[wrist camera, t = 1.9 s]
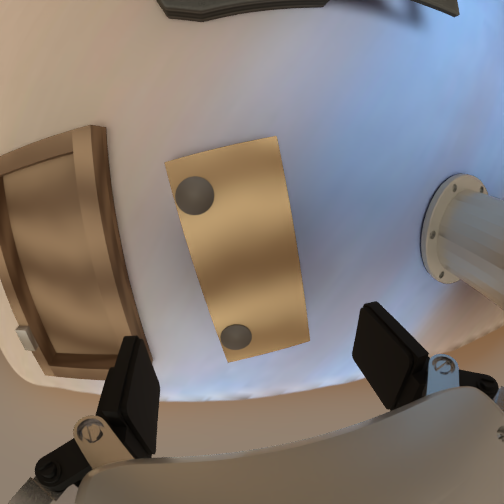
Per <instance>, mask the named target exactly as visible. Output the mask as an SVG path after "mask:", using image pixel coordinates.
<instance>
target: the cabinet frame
mask: <svg viewBox="0 0 504 504" xmlns="http://www.w3.org/2000/svg"><path fill="white" fill-rule="evenodd" d="M0 279H1V282H2V285H3V288H4V290H5V293H6V296H7V298H8V301H9V303H10V306H11V308H12V311H13V313H14V315H15V318H16V320H17V322H18V324H19V326H18V327H17V329H16V333H17V335H18V337H19V339H20V341H21V343H22V345H23V347H24V348H25V350H28V351H32V353H33V355H34V356H35V358H36V360H37V362H38V364H39V365H40V367H41V369H42V371H43V372H44V374H45V375H48V376H56V377H66V378H77V379H91V380H106V377H107V374H108V371H109V368H111V367H114V366H115V363H116V359H117V356H118V353H119V350H120V347H121V344H122V341H123V338H124V336H135V335H137V336H138V337H139V339H143V340H144V343H145V346H146V349H147V351H148V354H149V357H150V360H151V363H152V362H153V359H152V356H151V353H150V350H149V347H148V344H147V341H146V338H145V335H144V332H143V328H142V325H141V322H140V318H139V315H138V312H137V308H136V304H135V301H134V297H133V293H132V290H131V286H130V282H129V278H128V273H127V269H126V265H125V260H124V256H123V251H122V246H121V241H120V236H119V231H118V226H117V220H116V214H115V208H114V201H113V194H112V187H111V179H110V170H109V161H108V150H107V136H106V127H100V126H94V125H88V126H85V127H81V128H77V129H74V130H71V131H67V132H64V133H61V134H58V135H54V136H51V137H48V138H46V139H43V140H40V141H37V142H34V143H32V144H29V145H26V146H24V147H21V148H19V149H16V150H14V151H11V152H9V153H7V154H4V155H2V156H0Z"/></svg>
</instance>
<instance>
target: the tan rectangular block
mask: <svg viewBox="0 0 504 504" xmlns="http://www.w3.org/2000/svg"><path fill="white" fill-rule="evenodd" d="M165 167H166V170H167V174H168V178H169V182H170V186H171V189H172V193H173V197H174V200H175V204H176V208H177V211H178V215H179V218H180V221H181V225H182V228H183V232H184V235H185V238H186V242H187V245H188V248H189V251H190V255H191V258H192V261H193V264H194V267H195V270H196V273H197V277H198V280H199V283H200V286H201V289H202V292H203V295H204V298H205V300H206V303H207V306H208V309H209V312H210V315H211V318H212V321H213V323H214V326H215V329H216V332H217V334H218V337H219V340H220V343H221V345H222V348H223V351H224V353H225V356H226V359H227V361H228V362H233V361H237V360H241V359H246V358H250V357H254V356H258V355H262V354H266V353H269V352H273V351H277V350H281V349H284V348H288V347H291V346H295V345H298V344H302V343H305V342H308V341H310V336H309V328H308V320H307V312H306V304H305V297H304V290H303V283H302V276H301V269H300V262H299V256H298V250H297V243H296V237H295V231H294V225H293V219H292V214H291V208H290V202H289V197H288V191H287V186H286V181H285V175H284V170H283V165H282V160H281V155H280V150H279V145H278V140H277V136H274V137H268V138H263V139H258V140H253V141H248V142H243V143H238V144H234V145H229V146H225V147H221V148H217V149H212V150H208V151H204V152H201V153H197V154H193V155H189V156H186V157H182V158H178V159H175V160H171V161H168V162H165Z"/></svg>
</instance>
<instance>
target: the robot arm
mask: <svg viewBox="0 0 504 504" xmlns="http://www.w3.org/2000/svg"><path fill="white" fill-rule="evenodd" d="M421 251H422V258H423V262H424V266H425V268H426V269H427V272H428V273H429V274H430V275H431V276H432V277H433V278H434V279H436V280H437V281H439V282H441V283H445V284H450V283H454V282H457V281H459V280H460V279H461V280H462V281H464V282H465V283H467V284H468V285H470V286H471V287H472V288H474V289H475V290H477V291H478V292H480V293H481V294H482V295H484V296H485V297H487V298H488V299H489V300H491V301H492V302H493V303H495V304H496V305H498V306H499V307H500V308H502V309H503V310H504V200H501V199H499V198H496V197H493V196H490V195H488V192H487V190H486V188H485V186H484V185H483V183H482V182H481V181H480V180H479V179H478V178H476V177H475V176H472V175H468V174H462V173H461V174H456V175H454V176H452V177H450V178H448V179H447V180H446V181H445V182H444V183H443V184H442V185H441V186H440V188H439V189H438V190H437V192H436V193H435V195H434V197H433V199H432V200H431V203H430V205H429V208H428V210H427V213H426V216H425V220H424V224H423V230H422V236H421ZM428 354H429V353H428V352H427V351H426V350H425V349H424V348H423V347H422V346H421V345H420V344H419V343H418V342H417V341H416V340H415V339H414V338H413V337H412V335H411V334H410V333H409V332H408V331H407V330H406V329H405V328H404V327H403V326H402V325H401V324H400V323H399V322H398V321H397V320H396V319H395V318H394V317H393V316H391V315H390V314H389V313H388V312H387V311H386V310H385V309H384V308H383V307H382V306H381V305H380V304H379V303H378V302H376V301H375V302H370V303H366V304H364V306H363V308H361V309H360V315H359V320H358V326H357V331H356V336H355V342H354V346H353V351H352V356H353V359H354V361H355V363H356V364H357V366H358V367H359V368H360V370H361V371H362V373H363V374H364V376H365V377H366V379H367V380H368V382H369V383H370V385H371V386H372V388H373V389H374V391H375V392H376V394H377V395H378V397H379V398H380V400H381V401H382V403H383V405H384V406H385V407H386V409H390V410H391V411H390V412H387V413H385V414H383V415H380V416H378V417H375V418H372V419H369V420H367V421H364V422H361V423H358V424H355V425H352V426H349V427H346V428H343V429H340V430H337V431H333V432H330V433H327V434H323V435H319V436H316V437H312V438H308V439H304V440H300V441H296V442H291V443H287V444H282V445H277V446H272V447H267V448H261V449H255V450H249V451H242V452H235V453H226V454H216V455H204V456H190V457H169V458H167V457H166V458H151V456H152V454H155V452H156V435H157V421H158V408H159V397H160V385H159V381H158V379H157V376H156V374H155V371H154V368H153V366H152V363H151V360H150V357H149V354H148V351H147V349H146V346H145V343H144V340H143V339H139V337H138V336H137V335H135V336H124V338H123V341H122V344H121V347H120V350H119V353H118V356H117V359H116V363H115V366H114V367H111V368H109V371H108V374H107V377H106V380H105V383H104V387H103V390H102V394H101V398H100V401H99V405H98V408H97V412H96V416H94V415H90V416H86V417H83V418H82V419H80V420H79V421H78V422H77V423H76V424H75V426H74V429H73V436H74V438H73V439H72V440H70V441H69V442H67V443H65V444H64V445H62V446H61V447H59V448H57V449H56V450H54V451H52V452H51V453H49V454H47V455H46V456H44V457H42V458H41V459H40V460H39V461H38V462H37V464H36V467H35V475H36V476H35V477H34V479H32V478H31V477H30V478H29V479H28V480H27V482H26V483H25V484H24V485H23V486H22V487H21V488H20V490H19V491H18V492H17V493H16V494H15V495H14V496H13V497H12V499H11V500H10V501H9V503H8V504H504V387H503V386H501V387H500V388H498V384H497V382H496V380H495V379H494V378H492V377H491V376H489V375H485V374H480V373H474V372H469V371H464V370H459V368H458V364H457V362H456V361H455V360H454V359H453V358H452V357H450V356H448V355H445V354H437V355H434V356H432V357H431V359H430V358H429V357H428Z"/></svg>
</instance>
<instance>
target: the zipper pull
mask: <svg viewBox="0 0 504 504" xmlns="http://www.w3.org/2000/svg"><path fill="white" fill-rule="evenodd" d="M328 1H329V0H157V2H158V3H159V5H160V6H161V8H162V9H163V11H164V12H165V14H166V15H167V17H168V18H170V19H181V20H190V21H198V22H205V21H209V20H213V19H217V18H222V17H226V16H231V15H237V14H242V13H249V12H256V11H265V10H274V9H287V8H310V7H323V6H324V5H325V4H326V3H327V2H328ZM411 1H414V2H417V3H420V4H422V5H425V6H428V7H431V8H433V9H436V10H438V11H441V12H443V13H446V14H448V15H451V16H453V17H456V16H458V15H459V8H458V2H457V0H411Z"/></svg>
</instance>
